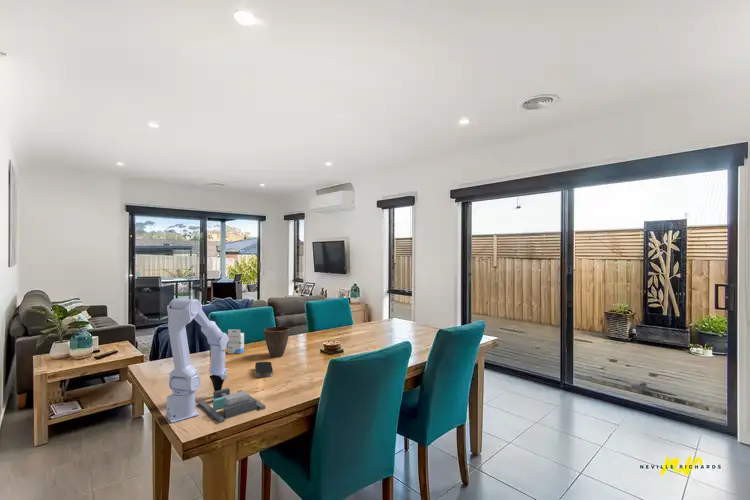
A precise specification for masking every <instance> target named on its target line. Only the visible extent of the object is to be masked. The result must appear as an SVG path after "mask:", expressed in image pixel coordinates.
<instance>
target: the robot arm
mask: <svg viewBox="0 0 750 500" xmlns="http://www.w3.org/2000/svg"><path fill="white" fill-rule="evenodd" d="M166 311H167V316H168V320H167V321H168V322H167V328H168V335H169V341H170V347H171V354H172V359H173V365H174V369H173V370H171V371H170V373H169V375H168V376H169V380H168V388H169V389H170V390H171V392H172V393H171V394H169V395H167V396H166V399H165V403H166V405H165V418H166V419H168V421H169V422H170V423H177V422H180V421H183V420H187V419H190V418H194V417H196V416H199V415H200V413H199V412H198V411H197V410H196V392H197V391H198V390H199V387H201V386H200V384H201V376H200V375H199V373H198V370H197V369H196V368H195V367H194V366H193V365H192V361H191V355H190V349H189V343H188V342H189V340H188V335H187V329H186V328H187V327H186V326H187V325H188V324H190V323H191V322H192V321H193V320H194V321H195V322H197V323H198V324H199V326H200V331H201V332H202V334H204V336H205V337H206V339H207V344H208V345H209V346H210V366H209V368H208V369H209V371H208V372H209V374H210V375H209V379H210V380H211V384H212V386H213V392H214V391H218V390H222V389H223V388H222V387H223V384H224V382H225V380H227V379H228V374H227V371H228V370H229V368H227V367H226V349H228V339H229V338H228V333H226V332H222V330H221V328H219V326H218V325H217V323H216V321H213V320H209V318H208V317H207V315H206V313H205V312H204V310H203V305H202V303H201V302H200V301H199V299H196V298H194V299H190V298H189V299H188V298H173V299H172V300H171V301H170V302H169V304H168V306H166Z"/></svg>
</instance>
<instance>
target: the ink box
mask: <svg viewBox="0 0 750 500" xmlns="http://www.w3.org/2000/svg"><path fill="white" fill-rule="evenodd" d="M241 331H242V330H241V329H236V328H235V329H229V328H228V329H227V336H228V338H229V339H228V343H227V353H228V352H230V353H229V354H234V353H241V354H242V353H244V352H245V332H241Z"/></svg>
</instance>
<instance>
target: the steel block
mask: <svg viewBox="0 0 750 500" xmlns="http://www.w3.org/2000/svg"><path fill="white" fill-rule="evenodd" d="M249 395H250V394H249V393H248V392H246V391H244V390H242V391H241V392H237V391H236V392H234V393H230V395H226V396H223V409H222V411H224V408H225V407H229V406H232V405H235V404H239V403H242V402H246V401H249Z"/></svg>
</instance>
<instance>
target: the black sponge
mask: <svg viewBox="0 0 750 500" xmlns="http://www.w3.org/2000/svg"><path fill="white" fill-rule="evenodd" d="M254 367H255V369H254V370H255V376H256V377H258V378H262V377H264V378H265V377H266V378H268V377H270V378H271V377H273V376H274V370H273V366H272V362H271V361H257V362H255V366H254Z"/></svg>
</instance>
